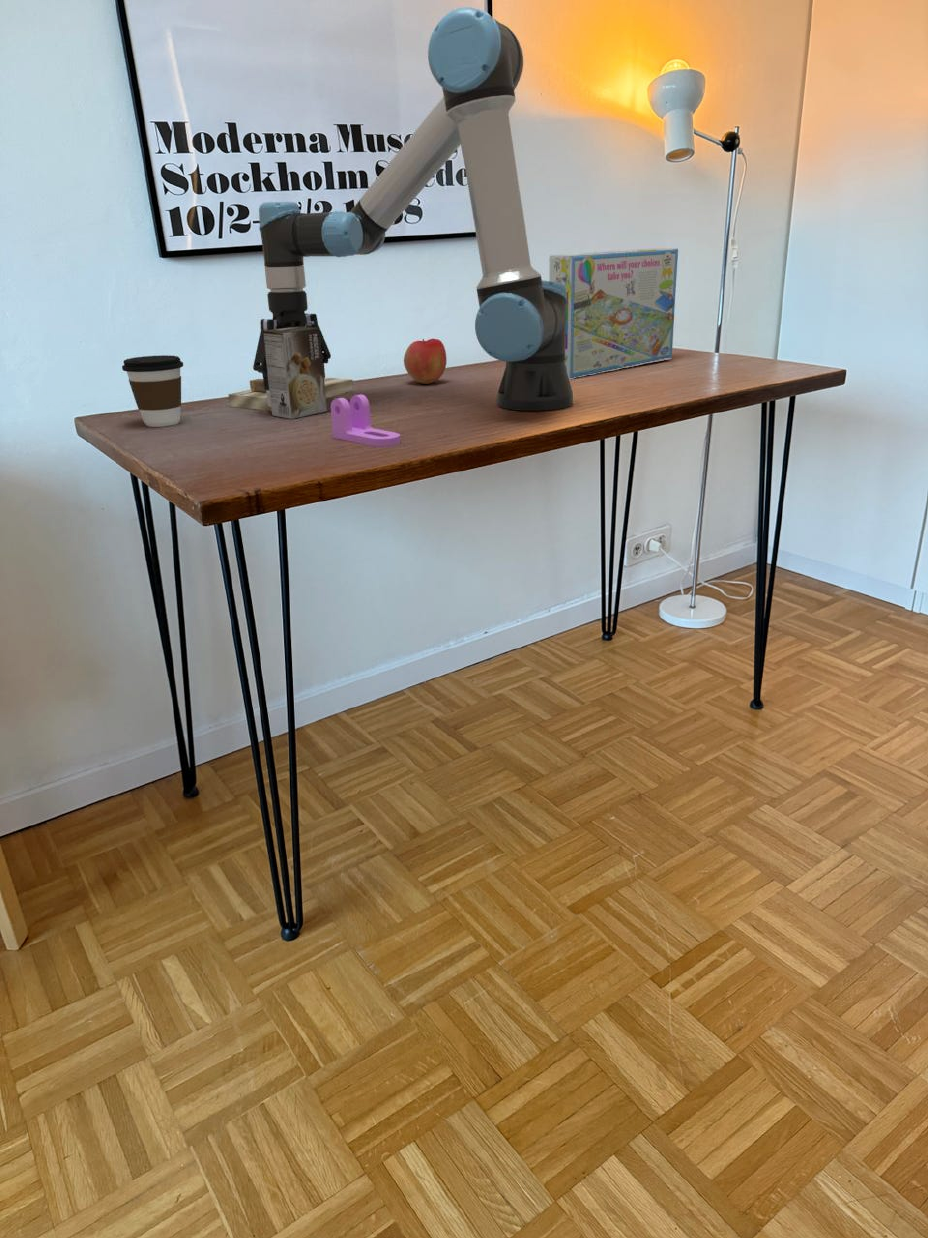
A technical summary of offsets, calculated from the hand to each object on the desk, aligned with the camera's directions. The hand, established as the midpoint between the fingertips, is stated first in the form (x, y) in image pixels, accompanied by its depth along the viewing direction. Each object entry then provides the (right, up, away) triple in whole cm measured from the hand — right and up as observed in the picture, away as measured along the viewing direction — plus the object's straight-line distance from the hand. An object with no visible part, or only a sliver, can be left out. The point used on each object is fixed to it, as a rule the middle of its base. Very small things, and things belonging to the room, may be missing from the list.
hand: (297, 401), depth 176 cm
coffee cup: (-24, -7, -11) cm, 27 cm away
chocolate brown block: (-4, 0, +4) cm, 5 cm away
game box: (+71, +18, +39) cm, 83 cm away
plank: (-3, +3, +11) cm, 12 cm away
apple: (+25, +10, +25) cm, 37 cm away
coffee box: (+2, -4, -6) cm, 7 cm away
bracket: (+18, -14, -29) cm, 37 cm away
